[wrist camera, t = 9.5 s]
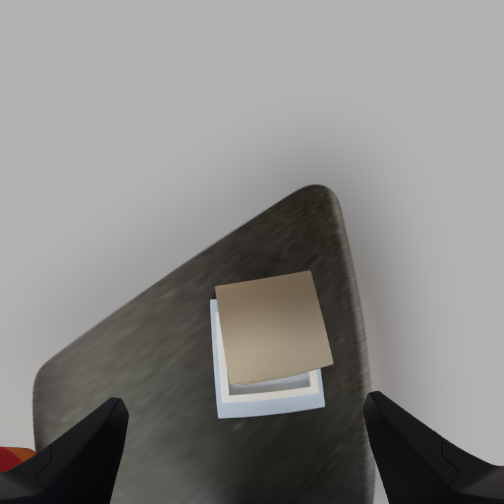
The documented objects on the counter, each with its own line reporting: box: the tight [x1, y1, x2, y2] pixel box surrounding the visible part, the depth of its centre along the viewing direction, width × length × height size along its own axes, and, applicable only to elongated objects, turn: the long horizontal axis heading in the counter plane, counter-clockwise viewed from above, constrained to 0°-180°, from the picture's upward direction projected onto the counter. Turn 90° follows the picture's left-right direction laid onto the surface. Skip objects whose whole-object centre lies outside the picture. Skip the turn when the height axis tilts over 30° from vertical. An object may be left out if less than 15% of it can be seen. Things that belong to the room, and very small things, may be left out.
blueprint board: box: [210, 299, 325, 418], centre depth 22 cm, size 10×8×2 cm
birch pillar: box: [215, 270, 333, 385], centre depth 17 cm, size 4×4×11 cm
